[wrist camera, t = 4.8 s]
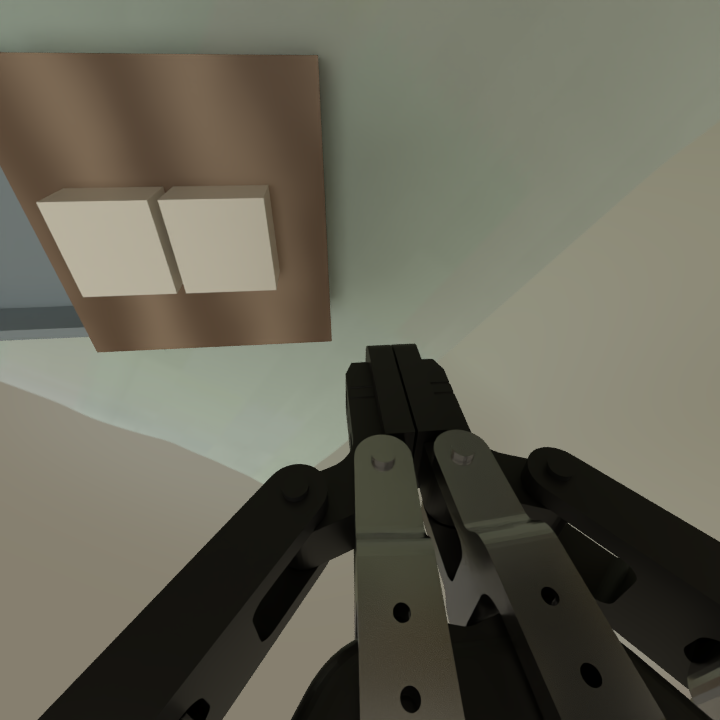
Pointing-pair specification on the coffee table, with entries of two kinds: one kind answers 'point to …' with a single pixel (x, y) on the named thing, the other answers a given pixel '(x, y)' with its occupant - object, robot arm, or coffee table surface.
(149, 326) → the block
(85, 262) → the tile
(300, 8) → the coffee table surface
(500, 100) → the coffee table surface
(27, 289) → the box
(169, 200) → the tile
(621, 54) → the coffee table surface
